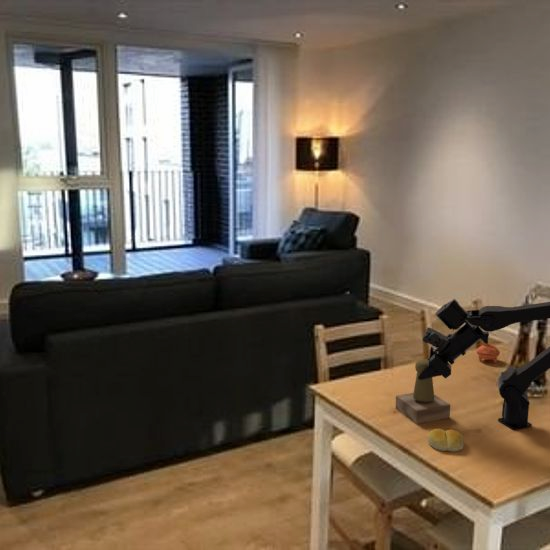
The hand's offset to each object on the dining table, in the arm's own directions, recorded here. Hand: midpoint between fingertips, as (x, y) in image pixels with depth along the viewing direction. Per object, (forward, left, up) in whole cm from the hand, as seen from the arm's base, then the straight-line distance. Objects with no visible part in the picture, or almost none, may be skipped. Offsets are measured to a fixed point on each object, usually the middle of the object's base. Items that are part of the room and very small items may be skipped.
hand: (419, 375), depth 170 cm
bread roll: (-19, +4, -12) cm, 23 cm away
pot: (+28, -48, -12) cm, 57 cm away
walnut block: (-1, -1, -11) cm, 12 cm away
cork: (-1, -1, -7) cm, 7 cm away
